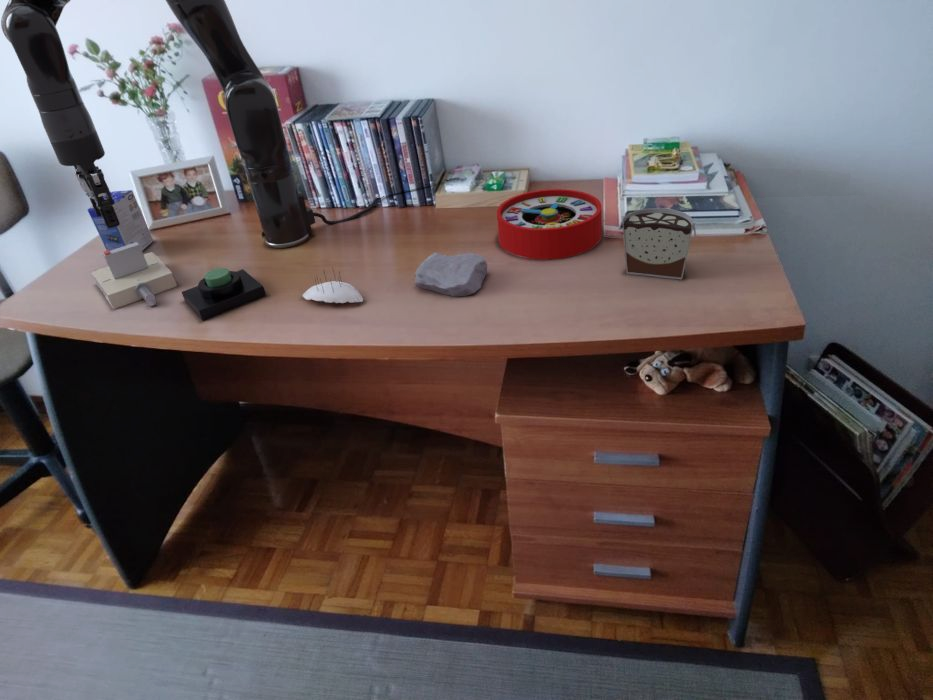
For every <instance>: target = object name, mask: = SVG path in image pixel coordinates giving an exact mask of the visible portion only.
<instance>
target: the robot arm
mask: <svg viewBox="0 0 933 700" xmlns="http://www.w3.org/2000/svg"><path fill="white" fill-rule="evenodd" d="M70 2H71V0H8V2H7V4H6V6H5V9H4V10H3V13H2V16H1V20H0V26H1V27H0V28H1V31H2V33H3V35H4V37H5V39H6V40H7V41H8V42H9V43H10V44H11V46H12V48H13V50H14V52H15V54H16V56H17V59H18V61H19V63H20V65H21V67H22V69H23V72H24V75H25V76H26V83H27V87H28V90H29V92H30V94H31V97H32V99H33V101H34V104H35V106H36V108H37V110H38V113H39V117H40V120H41V123H42V126H43V128H44V131H45V133H46V135H47V137H48V140H49V142H50V145H51V147H52V149H53V151H54V154H55V156H56V159H57V161H58V163H59V164H60V165H61V166H65V167H73V168H74V170H75V171H74V175H75V177H76V179H77V181H78V182H79V186H80V187H81V189H82V191H83V192H84V193H85V195H86V196H87V197H88V198H89V201H90V203H91V206H93V208H94V210H95V213H96V215H97V216H102V217H103V219H104V222H105V224H106V226H107V227H108V228H113V227H116V226H119V225H120V223H119V220H118V218H117V215H116V213H115V210H114V208H113V205H114V200H113V199H112V197H111V194H110V192H111V191H110V188H109V186H108V184H107V181H106V179H105V174H104V173H103V170H102V168H99V166H98V165H96V164H95V162H96V161H98V160H101V159H102V158H104V156H105V154H106V151H105V149H104V147H103V144H102V142H101V139H100V136H99V134H98V131H97V129H96V127H95V124H94V121H93V119H92V117H91V114H90V112H89V110H88V108H87V107H86V105H85V102H84V101H83V98H82V96H81V95H82V94H81V93H80V90H79V88H78V85H77V82H76V81H75V78H74V77H73V75H72V73H71V70H70V66H69V63H68V59H67V55H66V53H65V49H64V46H63V45H64V44H63V43H62V40H61V37H60V34H59V31H58V29H57V24H58V23H59V20H60V17H61V15H62V13H63V11H64V8H65V6H66V5H67V4H69V3H70ZM165 2H166V4H167V5H168V7H169V9H170V10H171V12H172V14H173V15H174V16H175V19H176V20H177V21H178V22H179V24H180V25H181V26H182V28H183V29H184V30H185V32H186V33H187V34H188V36H189V37H190V38H191V40H192V42H194V44H196V46H197V47H198V48H199V50H200V51H201V52H202V53H203V55H204V56H205V58H206V60H207V61H208V63H209V65H210V68H212V71H213V73H214V74H215V77H216V80H217V81H218V83H219V85H220V88H221V90H222V92H223V95H224V98H225V99H224V105H225V111H226V114H227V115H226V116H227V118H228V122H229V124H230V128H231V132H232V135H233V138H234V141H235V144H236V149H237V151H238V153H239V156H240V159H241V161H242V165H243V168H244V172H245V176H246V178H247V183H248V186H249V189H250V193H251V196H252V200H253V204H254V205H255V210H256V212H257V216H258V220H259V223H260V226H261V229H262V232H261V237H262V239H264V241H265V242H264V243H265V245H266V246H267V247H268V248H271V249H287V248H292V247H295V246H296V247H297V246H298V245H301V244H302V243H305V242H306V241H307V240H308V239H309V238H312V237H313V236H314V233H313V229H312V225H314V224H316V219H315V218H316V217H317V218H320V219H321V220H322V222H323V223H324V224H326V225H330V226H331V225H336V224H339V223H345V222H348V221H351V220H355V219H357V218H359V217H361V216H363V215H365V214H366V213H369V212H370V211H371V210H372V209H373V208H374V207H375V206H376V204H377V203H378V201H379V200H382V198H376V197H375V198H374V199H373V200H372V202H371V203H370V205H369V206H368V207H366V208H365V209H362V210H361V211H359V212H357V213H354V214H353V215H350V216H349V217H346V218H344V219H339V220H328V219H327V218H326V217H325V215H323V214H322V213H320V212H315V211H314V210H313V209H312V208H310V207H308V206H307V205H306V200H305V197H304V194H303V193H302V192H300V191H299V188H298V187H299V186H298V184H297V179H296V175H295V172H294V168H293V164H292V160H291V156H290V151H289V147H288V143H287V140H286V136H285V133H284V128H283V124H282V119H281V116H280V112H279V107H278V104H277V99H276V95H275V92H274V91H273V88H272V86H271V85H270V83H269V81H268V80H267V79H266V78H265V76H264V74H263V73H262V72H261V71H260V69H259V67H258V66H257V64H256V62H255V61H254V59H253V58H252V57H251V54H250V53H249V51H248V49H247V48H246V46H245V45H244V42H243V40H242V39H241V37H240V34H239V31H238V28H237V27H236V24H235V22H234V19H233V16H232V14H231V12H230V10H229V7H228V5H227V3H226V0H165ZM103 196H106V198H107V199H106V200H104V198H103Z"/></svg>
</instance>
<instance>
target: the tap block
mask: <svg viewBox="0 0 933 700" xmlns="http://www.w3.org/2000/svg"><path fill="white" fill-rule="evenodd" d="M143 255H144V257H145V259H146V262H147V264H148V267H149V268H146V269H143V270H140V271H137V272H134V273H132V274H129V275H126V276H123V277H120V278H117V279H114V278H113V276H112V274H111V272H110V269H109V267H108V266H105V267H102V268H99V269H97V270H93V271H91V275H92V277H93V280H94V282H95V284H96V286H97V287H98V289H99V290H100V291H101V293H102V294H103V296H104V297H105V299H106V301H107V302H108V303H109V305H110V306H111V308H112V309H113V310H115V309H118V308H122V307H124V306H127V305H129V304H132V303H135V302H137V301H140V300H144V298H143V297H139V296H138V295H137V294H136V292H135V287H136V285H137V284H139V283H142V282H144V283H147V284H149V285H150V287H151V289H152V291H151V292H152V293H153V294H154V295H157V294H159V293H162V292H165V291H168V290H170V289H174V288H176V287H178V285H177V281H176V278H175V277H174V273H173V272H172V271H171V270H170V269H169V268H168V267H167V265H165V264H164V263H163V261H162V260H161V259H159V258H158V256H157V255H156V254H155V253H154V252H152V251H150V252H147V253H143Z"/></svg>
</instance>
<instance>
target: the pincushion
mask: <svg viewBox="0 0 933 700" xmlns="http://www.w3.org/2000/svg"><path fill="white" fill-rule="evenodd" d="M332 268H334V267H333V266H332ZM332 272H333V276H334V280H335V281H334V280H333V281H332V280H331V279H329V280H330V281H328V280H325V282H320V283H319V281H321V278H319V279H318V276H317V275H316V279H317V281H316V279H314V282H315V284H314V285H313V286H311V287H309V288H308V289H306V291H305V292H304V293H302V295H301V296H302V298H304V300H306V301H311V300H312V301H315V302H320V304H322V303H323V302H324V303H325V304H326V305H327V304H329V303H331V304H332V303H335V305H337V304H339V303H340V304H344V303H345V304H347V302H348V303H351V304H353V303H362V302H363V301H364V298H363V297H362V295H361V293H360V292H359V291H358V290H357V288H355V286H353V285H352V284H350V283H347V282H343V281H342V280H338V281H337V279H342V277H341V276H337V279H336V275H335V271H334V269H332ZM340 272H341V271H338V273H339V275H341V273H340ZM323 274H324V275H326V273H325V269H323ZM324 278H325V279H327V277H326V276H324ZM317 283H318V284H317Z"/></svg>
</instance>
